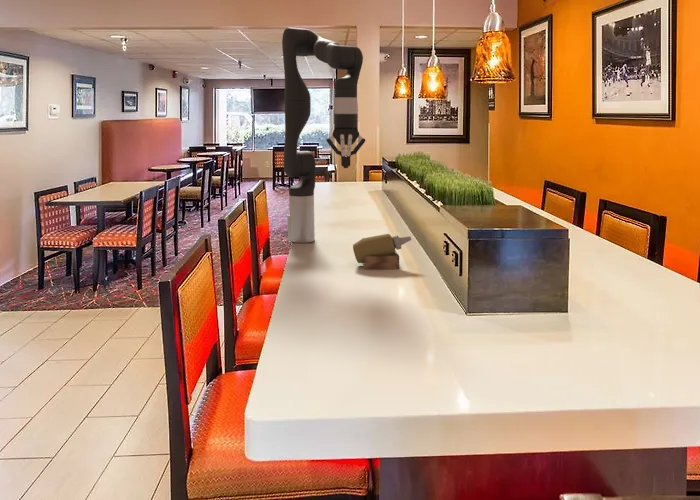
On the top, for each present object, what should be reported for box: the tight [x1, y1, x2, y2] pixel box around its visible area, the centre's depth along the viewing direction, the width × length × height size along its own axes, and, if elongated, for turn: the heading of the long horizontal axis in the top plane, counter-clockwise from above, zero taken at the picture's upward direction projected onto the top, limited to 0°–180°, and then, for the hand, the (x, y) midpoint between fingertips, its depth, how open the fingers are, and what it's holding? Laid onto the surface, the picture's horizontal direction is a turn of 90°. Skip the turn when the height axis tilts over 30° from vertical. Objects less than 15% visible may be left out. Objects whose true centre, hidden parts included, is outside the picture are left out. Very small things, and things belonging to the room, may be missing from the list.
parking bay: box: [363, 249, 400, 271], centre depth 186 cm, size 11×11×4 cm
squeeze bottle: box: [352, 233, 412, 264], centre depth 184 cm, size 8×8×18 cm
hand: (345, 167), depth 191 cm, fingers closed
